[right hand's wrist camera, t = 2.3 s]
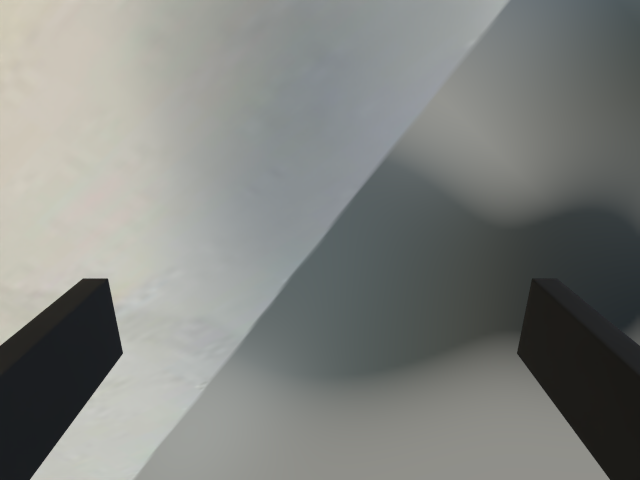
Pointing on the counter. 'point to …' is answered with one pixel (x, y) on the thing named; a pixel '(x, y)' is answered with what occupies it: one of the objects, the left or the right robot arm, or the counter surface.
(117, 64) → the counter surface
